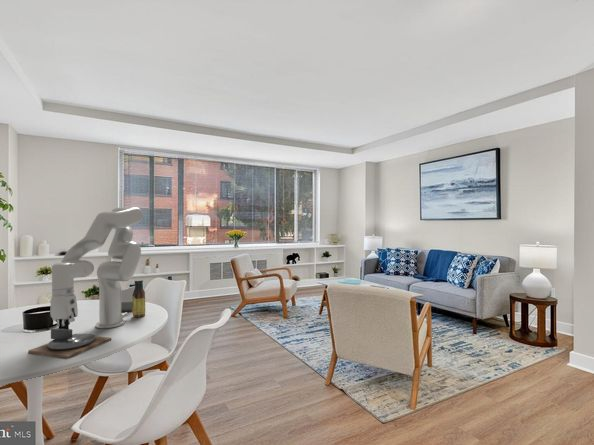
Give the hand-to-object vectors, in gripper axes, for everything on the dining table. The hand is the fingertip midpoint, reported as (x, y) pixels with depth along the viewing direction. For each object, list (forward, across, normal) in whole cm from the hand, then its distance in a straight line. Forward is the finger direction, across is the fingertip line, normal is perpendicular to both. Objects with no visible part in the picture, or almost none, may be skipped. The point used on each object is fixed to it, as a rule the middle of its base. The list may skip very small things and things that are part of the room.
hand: (63, 334), depth 139 cm
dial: (+2, -7, +3) cm, 7 cm away
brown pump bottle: (+4, -3, -40) cm, 41 cm away
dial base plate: (+3, -8, +3) cm, 9 cm away
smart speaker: (+4, +12, -50) cm, 51 cm away
